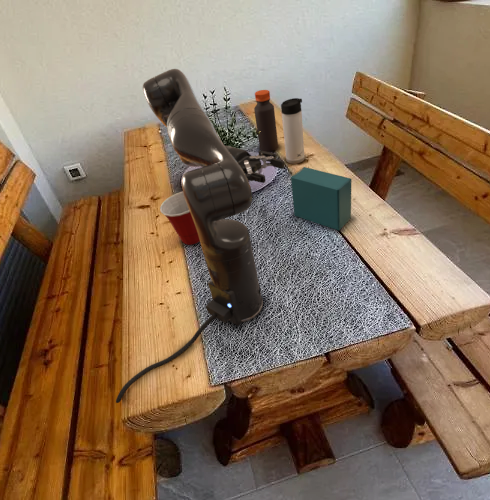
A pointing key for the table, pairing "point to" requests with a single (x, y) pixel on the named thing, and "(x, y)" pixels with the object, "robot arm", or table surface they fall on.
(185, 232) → the plastic cup
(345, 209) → the matte teal cuboid
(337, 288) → the table surface
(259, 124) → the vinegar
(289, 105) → the travel mug
